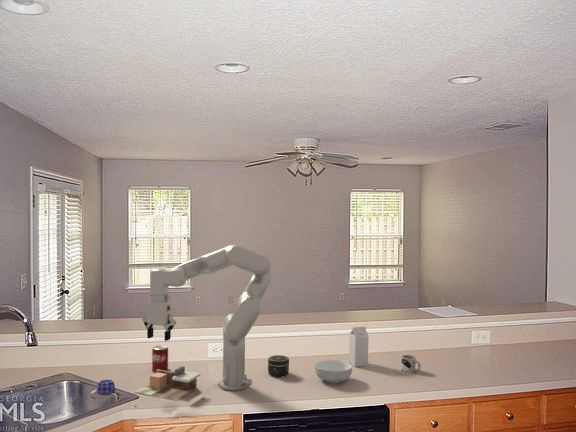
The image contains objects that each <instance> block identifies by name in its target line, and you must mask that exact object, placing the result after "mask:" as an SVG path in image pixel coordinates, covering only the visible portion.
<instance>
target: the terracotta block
mask: <svg viewBox="0 0 576 432" xmlns="http://www.w3.org/2000/svg"><path fill="white" fill-rule="evenodd" d="M149 384H150V388H154V389H159V390H160V389H161V388H163V387H165V386H167V374H164V373H158V372H157V373H156V372H154V373H153V374H152V375H149Z"/></svg>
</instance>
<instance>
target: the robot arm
mask: <svg viewBox="0 0 576 432" xmlns="http://www.w3.org/2000/svg"><path fill="white" fill-rule="evenodd" d="M233 266H234V267H236V268H239V269H241V270H244V271H245V272H246V271H247V272H250V273H251V277H250V280H249V282H248V284H247V286H245V289H243V292H242V293H241V295H240V296H239V297H238V299H237V301H236V306H237V308H236V310H235V311H234V312H232V313H229V314H227V315H226V316H225V317H224V319H223V321H222V339H223V341H222V343H223V344H222V345H223V346H222V380H220V381H219V383H218V386H219V388H220V389H222V390H225V391H241V390H244V389H246V388H247V387H248V386H252V385H253V380H252V378H248V377H247V374H245V372H246V371H245V370H246V369H245V368H246V367H245V366H246V364H245V363H246V361H245V359H246V356H245V355H246V337H247V336H248V333H249V332H250V331H251V330H252V327H253V326H254V324H255V323H256V321H257V319H258V318H259V316H260V313H261V310H262V304H261V301H262V299H263V297H264V296H265V294H266V292H267V290H268V288H269V285H270V282H271V279H272V271H271V270H272V269H271V267H272V263H271V260H270V258H268V256H267V255H265V254H263V253H260V252H255V251H252V250H249V249H247V248H244V247H242V246H241V245H240V244H237V243H236V244H235V243H233V244H229V245H227V246H224V247H222V248H220V249H217V250H215V251H212V252H209V253H207V254H204V255H202V256H200V257H197V258H195V259H192V260H190V261H186V262H184V263H182V264H179V265H177V266H174V267H173V268H172V269H171V270H168V269H167V268H153V269H151V270H150V273H149V274H150V275H149V276H150V277H149V278H150V284H149V289H150V290H149V298H150V299H149V301H148V306H147V312H146V313H147V314H146V315H144V316H143V317H142V318H141V320H142V322H143V325H144V326H145V329H147V331H146V332H147V333H146V335H147V339H151V338H153V337H154V325H155V326H159V327H163V328H164V330H165V331H164V341H165V342H168V341H170V340H171V335H172V333H171V331H172V330H173V328H175V325H176V324H177V321H176V319H174V318H173V312H172V311H173V310H172V303H171V301H170V300H171V296H170V295H169V288H170V287H172V288H174V287H175V288H179V287H182V286H184V285H185V284H187V281H188V280H191V279H193V278H195V277H198V276H203V275H210V274H215V273H216V272H219V271H222V270H225V269H226V268H229V267H233Z"/></svg>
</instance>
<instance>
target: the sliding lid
mask: <svg viewBox="0 0 576 432" xmlns="http://www.w3.org/2000/svg"><path fill="white" fill-rule="evenodd" d="M185 368H186V367H185V366H180V367H178V368H175V369H174V372H175V376H173V377H172V380H176V381H182V382H188V383H189V382H190V381H192V380H194V379H196V378H197V379H198V377H200V376H201V373H200V372H194V371H189V370H186V369H185Z"/></svg>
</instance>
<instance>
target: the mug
mask: <svg viewBox="0 0 576 432" xmlns="http://www.w3.org/2000/svg"><path fill="white" fill-rule="evenodd" d="M400 364H401V365H400V366H401V368H400V369H401V371H402V370H403V371H405V372H404V373H407V372H413V373H415V372H417V373H418V372H420V371H421V362H420V361H419V360H417V359H416V356H414V355H412V354H411V355H410V354H403V355H401V363H400ZM416 364H417V367H418V368H416ZM403 371H402V372H403ZM414 371H415V372H414Z"/></svg>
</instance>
